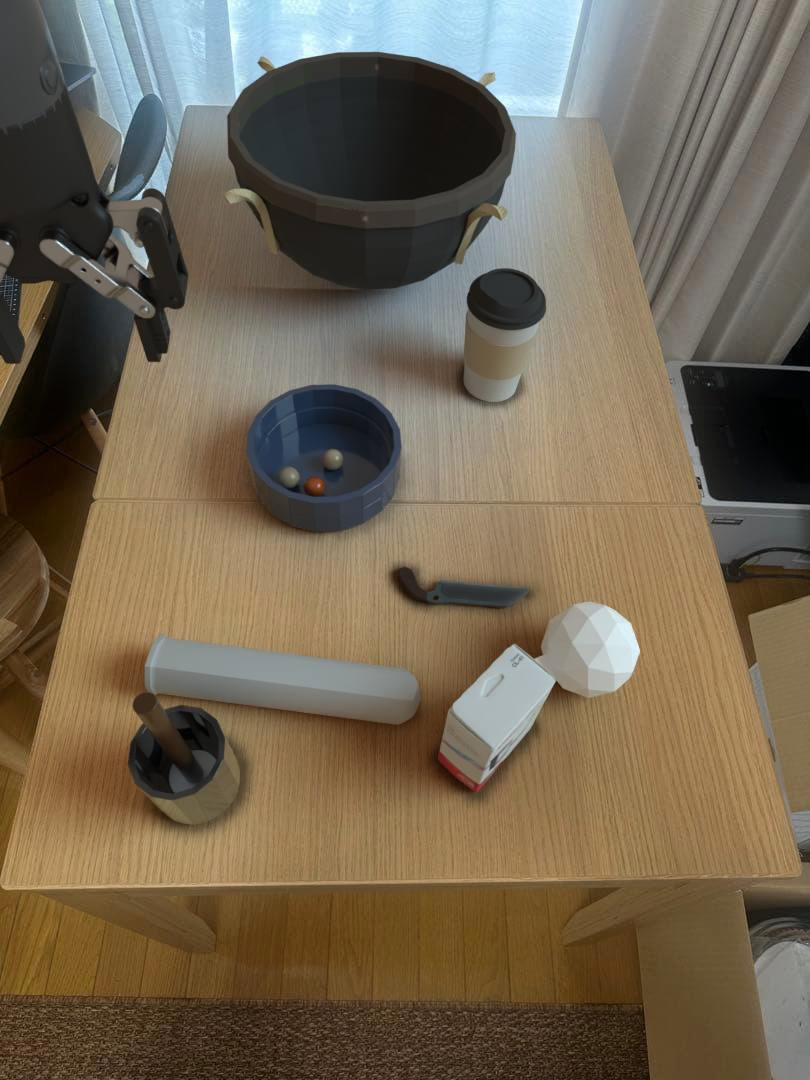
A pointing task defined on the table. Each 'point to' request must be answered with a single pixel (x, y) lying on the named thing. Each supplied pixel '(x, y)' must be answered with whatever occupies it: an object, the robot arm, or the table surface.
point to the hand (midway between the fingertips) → (86, 353)
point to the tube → (281, 681)
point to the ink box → (493, 716)
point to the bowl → (370, 164)
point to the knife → (462, 592)
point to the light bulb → (589, 649)
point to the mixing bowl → (301, 440)
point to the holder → (155, 764)
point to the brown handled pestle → (173, 745)
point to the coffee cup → (500, 331)
